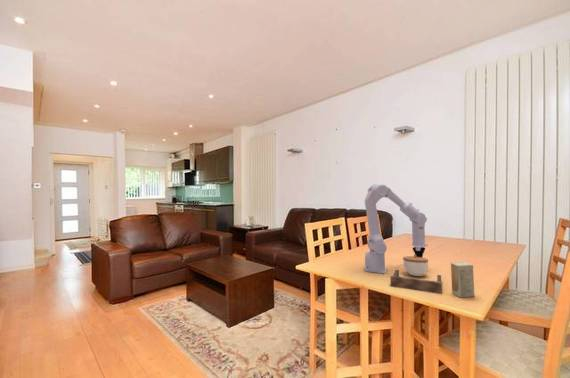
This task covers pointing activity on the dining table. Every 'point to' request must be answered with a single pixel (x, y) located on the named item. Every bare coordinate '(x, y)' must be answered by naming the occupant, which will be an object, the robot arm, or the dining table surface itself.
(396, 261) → the dining table surface
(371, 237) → the robot arm
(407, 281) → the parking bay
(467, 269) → the skincare box
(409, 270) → the lidded jar
